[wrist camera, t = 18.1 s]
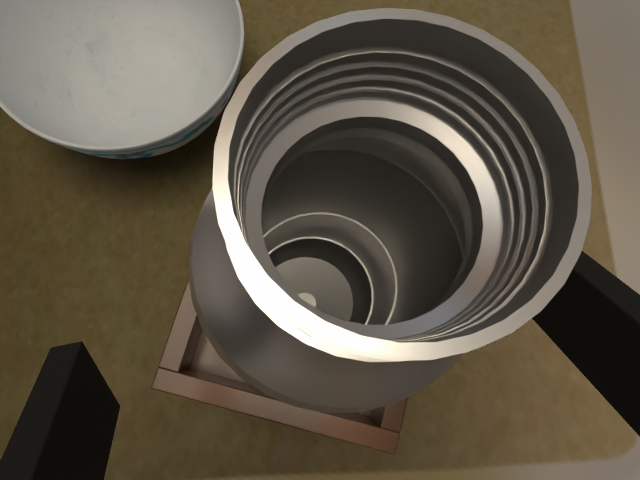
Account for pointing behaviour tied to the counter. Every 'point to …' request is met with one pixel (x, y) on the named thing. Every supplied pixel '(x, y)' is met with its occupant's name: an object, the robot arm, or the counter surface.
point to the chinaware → (119, 71)
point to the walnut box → (237, 395)
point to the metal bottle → (383, 208)
